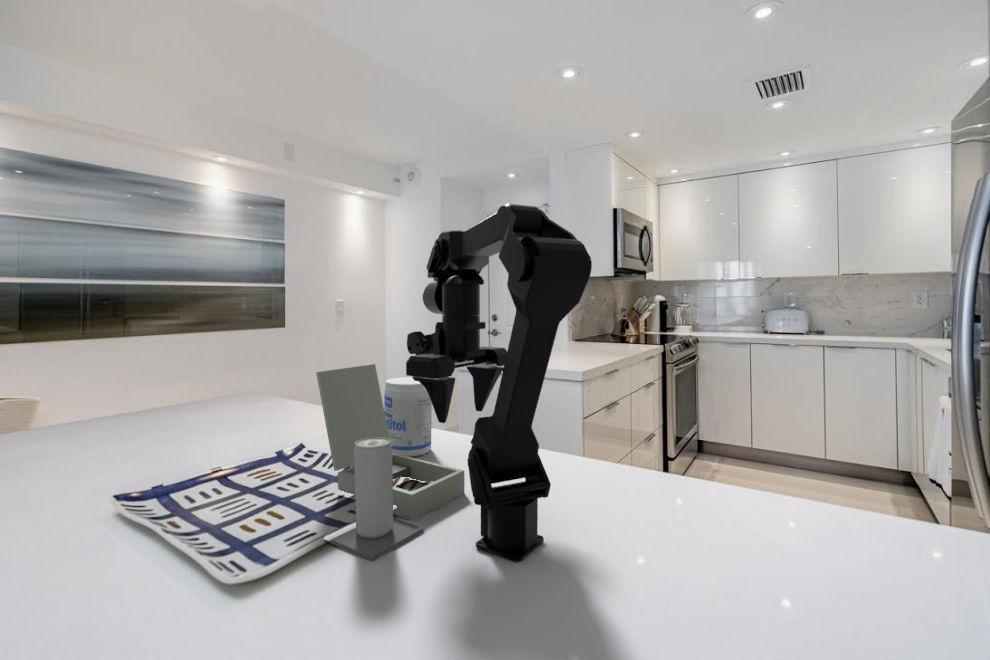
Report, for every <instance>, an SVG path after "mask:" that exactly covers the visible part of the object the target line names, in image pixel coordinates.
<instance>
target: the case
mask: <svg viewBox="0 0 990 660" xmlns="http://www.w3.org/2000/svg"><path fill="white" fill-rule="evenodd" d="M392 473H393V479H395V478H397V477H400V476H401V477H410V478H412V479H416V480H420V481H433V482H432V483H430V484H428V485H426V484H425V485H423V486H422V487H420V488H419V487H418V488H417V489H415V490H413V491H410V490H407V489H403V488H400V487H398V486H397V487H394V486H393V505H396V506H397V508H396V509H395V510H394V511H393V516H397V517H401V518H403V519H406V520H409V521H414V520H416V519H418V518H420V517H422V516H424V515H426V514H428V513H429V512H432V511H433V510H435V509H437V508H439V507H441V506H442V505H444V504H446V503H449V502H450V501H452V500H455V498H458V497H460V496H462V495H463V494H465V470H463V469H460V468H456V467H452V466H448V465H443V464H441V463H440V464H439V463H436V462H431V461H427V460H422V459H420V458H415V457H408V456H404V455H400V454H396V453H392ZM338 489H339V490H341V491H344V492H347V493H351V494H354V495H355V469H354V467H352V468H349V467H348V468H347V469H346V468H345V469H344V470H343V469H342V470H340V471H338V472H337V490H338Z"/></svg>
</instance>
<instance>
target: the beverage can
mask: <svg viewBox="0 0 990 660" xmlns="http://www.w3.org/2000/svg"><path fill="white" fill-rule="evenodd" d="M390 443H391V440H390V439H388V438H383V437H370V438H364V439H361V440H358V441H356V442H355V446H356V447H355V448H354V469H355V500H356V501H355V522H356V531H357V533H358V534H359V536H361V537H362V538H366V539H376V538H380V537H383V536H385V535H387V534H388V533H389V532H390V531H391V530H392V528H393V517H394V514H393V473H392V445H391V444H390Z"/></svg>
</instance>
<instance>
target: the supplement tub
mask: <svg viewBox="0 0 990 660" xmlns="http://www.w3.org/2000/svg"><path fill="white" fill-rule="evenodd" d="M412 377H413V376H405V377H393V378H389V379H387V380H386V381H385V385H384V400H383V401H384V403H383V407H384V412H385V417H386V422H387V428H388V433H389V438H390V440H391V445H392V453H396V454H400V455H404V456H408V457H412V458H414V457H419V456H422V455H425V454H426V453H428V452H430V450H431V449H432V421H433V420H432V415H433V414H432V412H433V411H432V409H433V405H432V402H431V399H430V397H429V394H428V392H427V390H426V388H425V387H424V386H423V385H422V384H421V383H420V382H419V381H415V380H414V379H413V378H412Z"/></svg>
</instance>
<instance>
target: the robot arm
mask: <svg viewBox="0 0 990 660" xmlns="http://www.w3.org/2000/svg"><path fill="white" fill-rule="evenodd" d="M497 254H498V258H499V260H500V262H501V263H502V265H503V267H504V268H505V270H506V272H507V274H508V275H507V276H508V277H507V284H506V286H507V288H508V292H509V295H510V297H511V299H512V302H513V305H514V306H515V315H514V319H513V320H514V321H513V325H512V329H511V333H510V337H509V338H510V339H509V343H508V348H507V349H506V348H505V347H495V346H494V347H493V346H481V330H482V329H483V330H485V329H486V322H485V321H480V320H481V316H480V315H481V308H480V307H481V306H480V305H481V301H480V300H481V299H480V298H481V287H480V286H483V285H484V283H485V280H484V278H483V277H482V276H481V275H480V274H481V272H482V270H483V269H484V268H485V267H486V266H488V265H489V264H490V257H492V256H494V255H497ZM592 265H593V261H592V257H591V255H590V254H589V252H588V250H587V248H586V246H585V245H584V243H583V242H582V241H580V240H578V238H577V237H576V236H575V235H574V234H573V233H572V232H570V231H569V230H567V229H566V228H564V227H562V226H561V225H559V224H558V223H556V222H555V221H553V220H551V219H550V218H549V217H548V216H547V215H546V213H545V212H544V211H543V210H542V209H541V208H538V207H537V206H532V205H526V204H525V205H524V204H523V205H521V204H513V203H507V204H505V205H501V206H500V207H499V208H498V209H497V212H495V213H494V214H492V215H490V216H488V217H487V218H485V219H483V220H481V221H480V222H478V223H476V224H474V225H473V226H471V227H469V228H468V229H463V230H461V229H459V230H458V229H457V230H446V231H445V230H444V231H442V232H441V233H440V234H439V235H438V237H437V238H436V239H435V241H434V245H433V246H432V249H431V251H430V255H429V258H428V261H427V265H426V270H427V278H429V279H431V278H432V279H433V281H431V282H430V283H428V284H427V285H426V287H425V288H424V290H423V292H422V302H423V304H424V307H425V308H426V309H427V310H428V311H429V312H431V313H433V314H436V315H442V321H436V324H435V326H434V327H435V328H434V332H433V333H430V334H424V332H422V331H412V332H410V333H407V338H406V347H407V352H408V353H409V354H410V356H409V358H408V359H406V360H407V361H405V375H406V377H412V378H413V379H414V380H415V381H419V382H420V383H421V384H422V385H423V386H424V387H425V388H426V390H427V392H428V394H429V397H430V399H431V402H432V409H433V410H434V412H435V416H436V419H437V421H438V423H441V424H445V423H447V419H448V416H449V413H450V406H451V404H452V403H451V402H452V397H453V392H454V387H455V382H456V377H452V376H453V374H454V372H455V370H456V369H457V368H463V367H466V369H467V371H468V372H469V374H470V376H471V377H472V383H473V399H474V409H475V411H476V412H482V411H484V408H485V406H486V403H487V402H488V400H489V397H490V395H491V394H492V393H491V392H492V391H493V388H494V387H495V385H496V384H497V381H498V379H499V378H500V376H501V378H500V384H499V386H498V387H499V388H498V391H497V392H498V393H497V396H496V401H495V405H494V409H493V413H492V414H491V416H483V417H478V418H477V420H476V421H475V424H474V429H473V436H472V439H471V440H470V444H471V448H470V449H469V450H468V451H469V452H468V456H467V466H468V472H469V473H468V475H469V481H470V482H469V483H470V488H471V492H472V497H473V503H474V504H475V506H476V505H477V506H480V536H481V538H480V539H479V540H477V541H475V547H476V548H477V549H480V550H482V551H485V552H488V553H491V554H493V555H496V556H499V557H503V558H505V559H508V560H511V561H513V562H521V561H522V560H524V558H526V557H527V556H528V555H529V554H530V553H531V552H533V551H534V550H535V549H536V548H538V547H539V546H540V545H541V544H542V543H544V536H543V535H540V534H538V520H539V519H538V513H539V512H538V509H539V507H538V506H539V504H538V503H539V501H538V500H539V499H541V498H543V499H545V498H548V497H549V494H550V490H551V482H550V479H549V476H548V473H547V471H546V469H545V466H544V464H543V462H542V459H541V457H540V455H539V450H540V449H539V448H540V444H539V442H538V439H537V437H536V435H535V432H534V430H533V422H534V419H535V415H536V411H537V407H538V404H539V400H540V396H541V392H542V389H543V385H544V381H545V377H546V374H547V369H548V366H549V362H550V360H551V356H552V351H553V347H554V344H555V340H556V336H557V332H558V329H559V326H560V323H561V322H562V321H563V319H565V318H566V316H568V314H569V313H570V312H571V311H572V310H574V308H575V307H576V306H578V304H579V303H580V301H581V299H582V296H583V294H584V292H585V289H586V287H587V285H588V282H589V280H590V278H591V273H592V267H593V266H592ZM520 479H521V480H522V479H524V481H520V482H515V483H508V484H504V485H498V486H493V485H492V484H498V483H503V482H504V483H505V482H507V481H514V480H515V481H516V480H520ZM492 486H493V487H492Z"/></svg>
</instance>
